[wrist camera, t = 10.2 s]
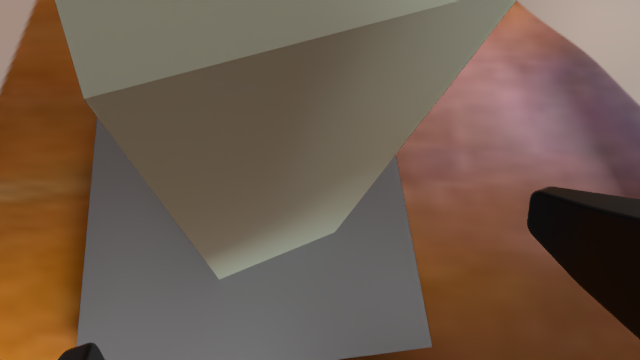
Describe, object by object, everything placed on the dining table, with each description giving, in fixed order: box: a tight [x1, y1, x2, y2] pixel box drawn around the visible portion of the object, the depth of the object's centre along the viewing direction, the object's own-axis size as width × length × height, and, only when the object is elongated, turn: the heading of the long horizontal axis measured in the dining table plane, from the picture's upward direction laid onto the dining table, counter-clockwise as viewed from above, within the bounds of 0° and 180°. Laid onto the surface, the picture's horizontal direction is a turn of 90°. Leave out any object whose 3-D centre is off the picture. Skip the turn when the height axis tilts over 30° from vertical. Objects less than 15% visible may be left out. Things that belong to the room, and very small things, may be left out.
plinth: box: [77, 117, 432, 360], centre depth 18 cm, size 13×13×3 cm
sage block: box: [55, 0, 516, 279], centre depth 11 cm, size 5×5×13 cm
